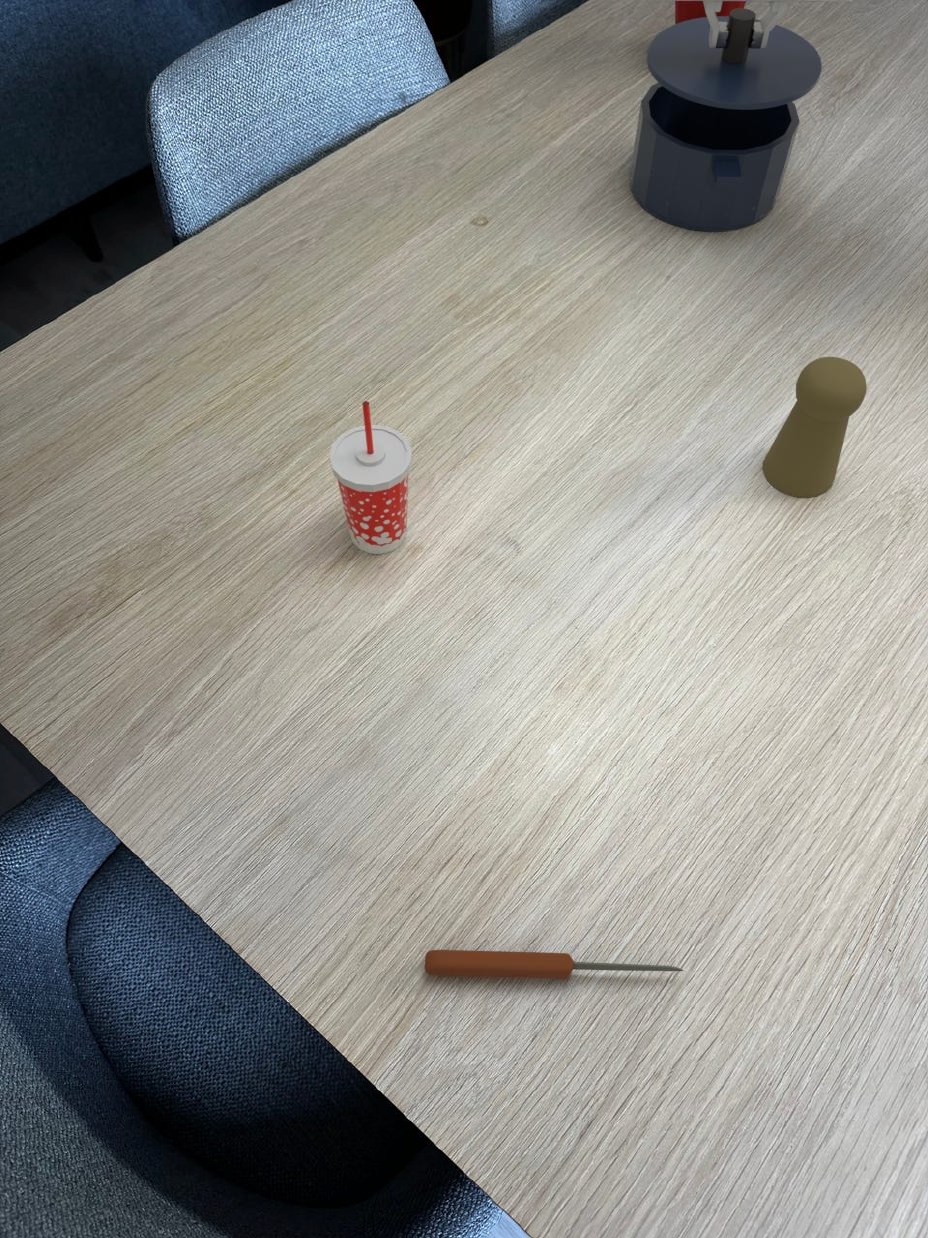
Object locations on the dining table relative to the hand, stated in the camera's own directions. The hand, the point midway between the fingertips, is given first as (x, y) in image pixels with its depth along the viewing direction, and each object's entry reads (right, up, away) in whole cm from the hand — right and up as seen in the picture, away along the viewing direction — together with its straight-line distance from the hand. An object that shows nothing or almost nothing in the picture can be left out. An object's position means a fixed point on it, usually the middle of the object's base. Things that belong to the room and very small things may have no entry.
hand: (736, 45), depth 99 cm
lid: (0, -1, +1) cm, 2 cm away
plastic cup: (+3, +14, +28) cm, 31 cm away
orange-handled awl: (-21, -77, -35) cm, 87 cm away
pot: (0, -8, +12) cm, 15 cm away
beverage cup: (-33, -48, -15) cm, 60 cm away
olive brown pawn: (+2, -42, -11) cm, 44 cm away
